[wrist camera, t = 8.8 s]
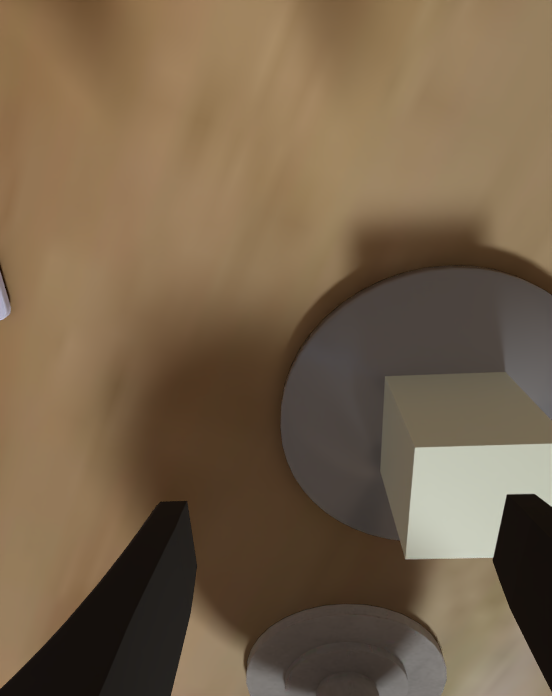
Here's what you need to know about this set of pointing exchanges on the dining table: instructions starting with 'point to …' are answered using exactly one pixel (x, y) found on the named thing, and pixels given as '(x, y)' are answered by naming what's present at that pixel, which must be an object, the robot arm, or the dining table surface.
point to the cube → (460, 459)
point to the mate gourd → (346, 655)
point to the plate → (402, 373)
